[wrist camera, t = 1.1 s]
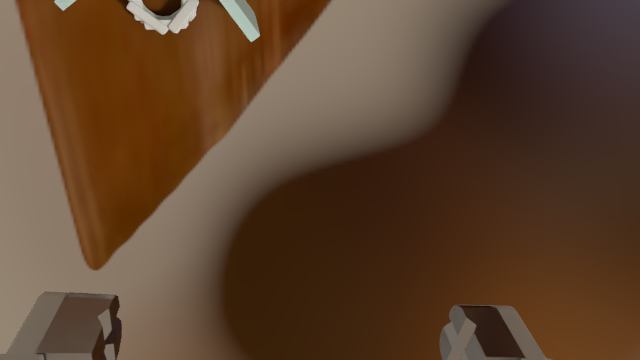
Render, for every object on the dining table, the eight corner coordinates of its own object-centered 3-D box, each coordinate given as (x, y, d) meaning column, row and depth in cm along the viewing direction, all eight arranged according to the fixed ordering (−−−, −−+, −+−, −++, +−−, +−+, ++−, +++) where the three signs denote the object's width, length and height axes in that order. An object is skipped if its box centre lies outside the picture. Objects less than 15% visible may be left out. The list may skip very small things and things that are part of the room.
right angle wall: (75, -21, 42) (53, 1, 37) (173, -101, 40) (167, -91, 34) (166, 75, 50) (160, 106, 44) (254, 11, 47) (260, 35, 41)
